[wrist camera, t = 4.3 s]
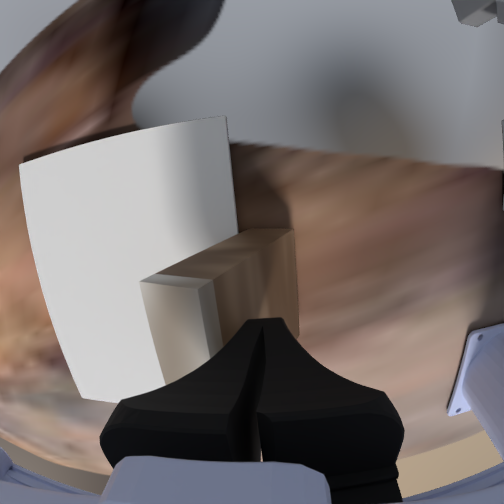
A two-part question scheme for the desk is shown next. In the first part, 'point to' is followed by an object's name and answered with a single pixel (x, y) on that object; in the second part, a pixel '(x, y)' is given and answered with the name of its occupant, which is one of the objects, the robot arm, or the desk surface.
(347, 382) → the robot arm
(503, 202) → the skincare box
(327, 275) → the desk surface
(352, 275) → the desk surface
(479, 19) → the lighter
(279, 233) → the brown wooden block
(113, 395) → the mat
